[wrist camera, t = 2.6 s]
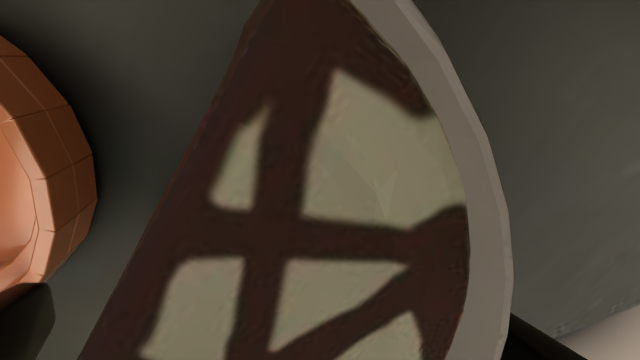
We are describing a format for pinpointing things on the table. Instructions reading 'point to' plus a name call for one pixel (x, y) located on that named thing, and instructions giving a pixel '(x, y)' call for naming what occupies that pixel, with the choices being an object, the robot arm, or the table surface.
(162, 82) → the table surface
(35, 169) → the pan
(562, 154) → the table surface
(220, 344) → the food container
